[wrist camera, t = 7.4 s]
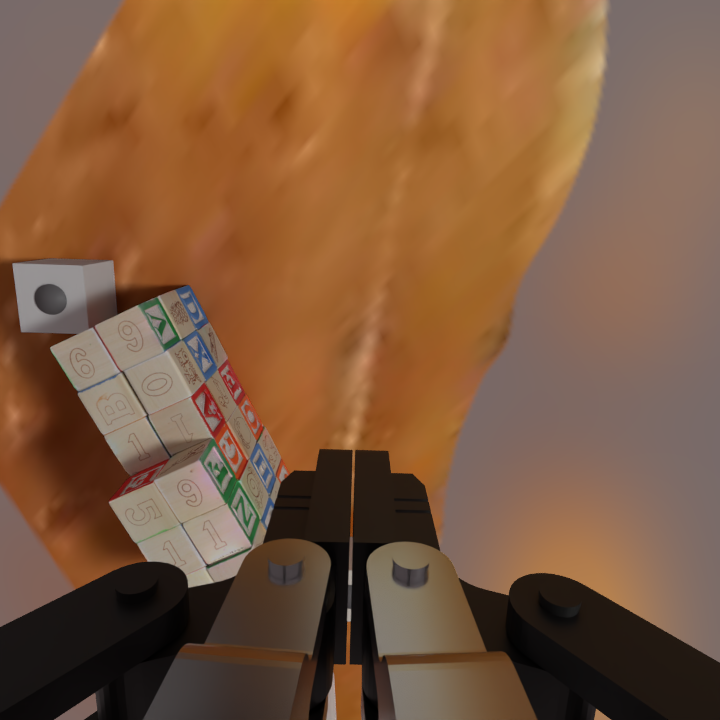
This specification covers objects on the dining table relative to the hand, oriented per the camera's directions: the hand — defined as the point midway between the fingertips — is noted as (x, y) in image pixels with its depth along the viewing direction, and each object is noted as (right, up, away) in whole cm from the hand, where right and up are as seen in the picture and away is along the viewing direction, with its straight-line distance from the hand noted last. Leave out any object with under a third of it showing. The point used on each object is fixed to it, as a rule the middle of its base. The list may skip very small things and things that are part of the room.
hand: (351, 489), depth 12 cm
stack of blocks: (-11, -2, +31) cm, 33 cm away
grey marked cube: (-20, +8, +28) cm, 35 cm away
